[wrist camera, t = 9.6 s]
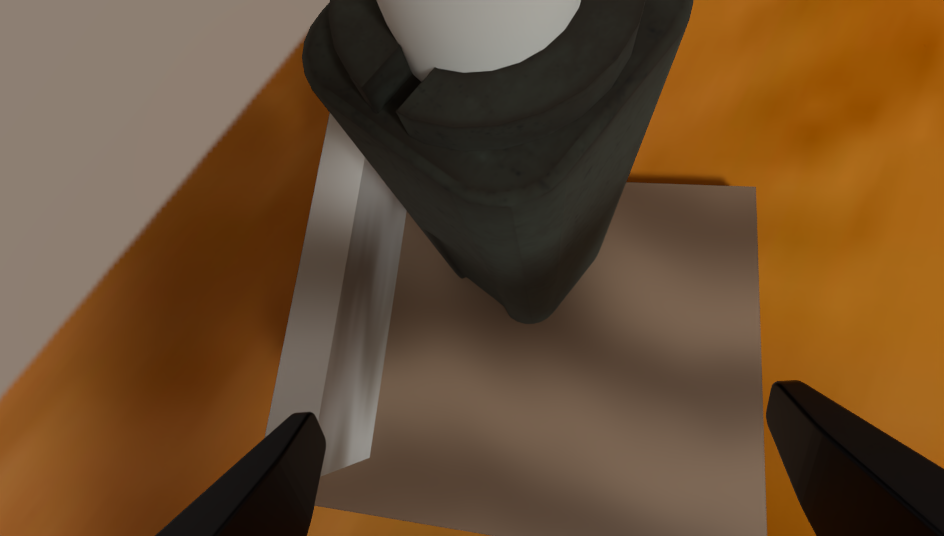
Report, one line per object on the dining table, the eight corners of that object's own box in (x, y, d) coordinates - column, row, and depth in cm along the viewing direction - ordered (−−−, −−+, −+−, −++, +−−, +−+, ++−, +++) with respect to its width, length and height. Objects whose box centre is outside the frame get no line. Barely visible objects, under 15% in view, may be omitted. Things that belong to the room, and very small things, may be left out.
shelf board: (753, 568, 17) (867, 667, 11) (286, 491, 20) (175, 535, 14) (743, 198, 20) (826, 117, 14) (343, 182, 23) (273, 110, 17)
